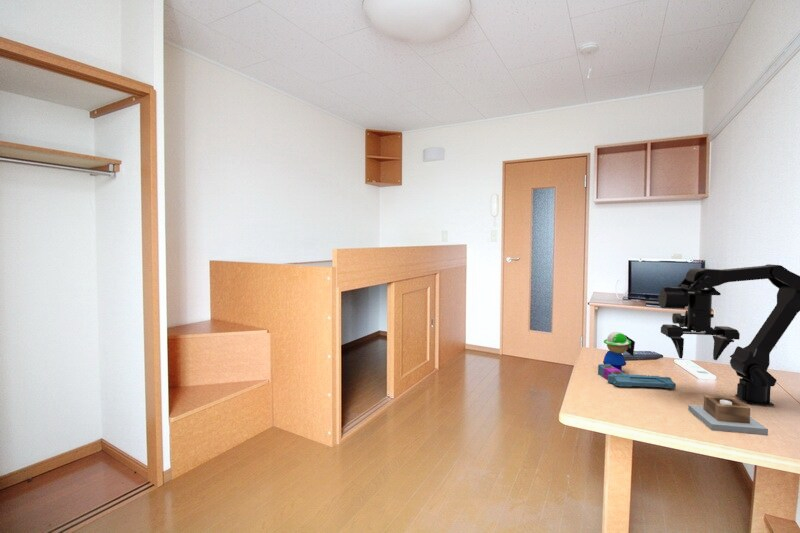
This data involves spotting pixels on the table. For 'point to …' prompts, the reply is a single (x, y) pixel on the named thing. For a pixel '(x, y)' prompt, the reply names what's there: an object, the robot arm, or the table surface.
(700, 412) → the peg base
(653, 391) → the table surface
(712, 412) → the collar
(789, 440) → the table surface
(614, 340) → the toy
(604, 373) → the toy gun
